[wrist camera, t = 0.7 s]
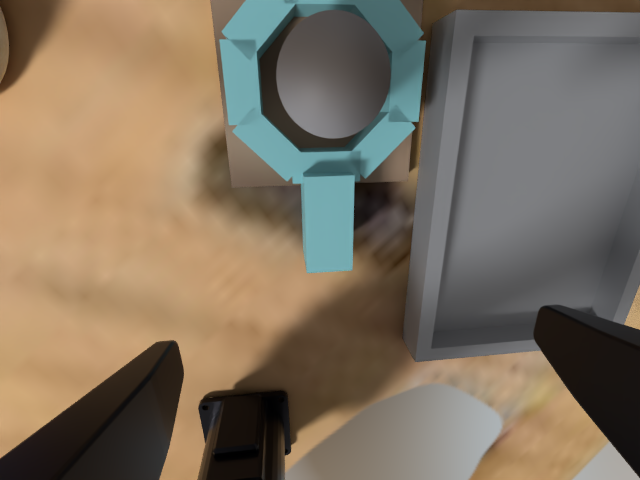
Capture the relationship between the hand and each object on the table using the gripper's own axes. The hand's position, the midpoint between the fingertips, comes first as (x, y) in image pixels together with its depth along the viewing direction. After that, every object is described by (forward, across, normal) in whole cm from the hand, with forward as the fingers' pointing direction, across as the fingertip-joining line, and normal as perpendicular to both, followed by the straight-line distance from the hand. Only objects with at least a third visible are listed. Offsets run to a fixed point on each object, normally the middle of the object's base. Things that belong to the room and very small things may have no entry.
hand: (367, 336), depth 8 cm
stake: (+13, 0, -6) cm, 14 cm away
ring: (+12, 0, -4) cm, 12 cm away
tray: (+13, -14, +1) cm, 19 cm away
